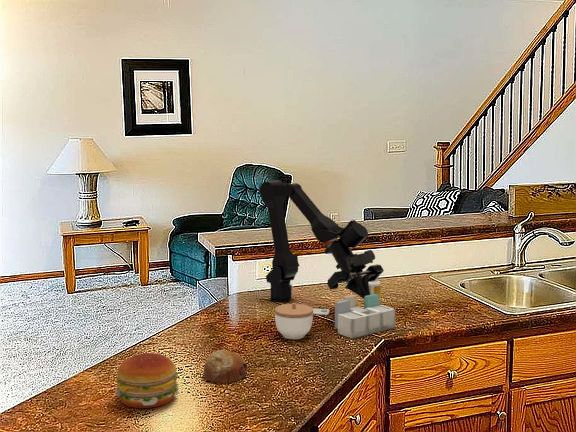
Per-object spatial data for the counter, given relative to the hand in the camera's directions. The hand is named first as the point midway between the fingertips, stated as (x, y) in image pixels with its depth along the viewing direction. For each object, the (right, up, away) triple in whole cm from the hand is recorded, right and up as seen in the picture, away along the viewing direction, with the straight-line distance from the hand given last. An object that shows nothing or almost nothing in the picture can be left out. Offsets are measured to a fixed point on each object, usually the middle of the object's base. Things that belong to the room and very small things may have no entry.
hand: (369, 300), depth 209 cm
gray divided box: (-1, -8, -6) cm, 10 cm away
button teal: (+2, -6, -2) cm, 7 cm away
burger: (-54, -15, -55) cm, 79 cm away
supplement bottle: (+3, -4, +22) cm, 23 cm away
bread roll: (-39, -13, -41) cm, 58 cm away
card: (-15, -5, +11) cm, 20 cm away
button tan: (-4, -6, -3) cm, 8 cm away
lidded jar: (-22, -9, -12) cm, 27 cm away
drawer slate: (-7, -7, -9) cm, 13 cm away
